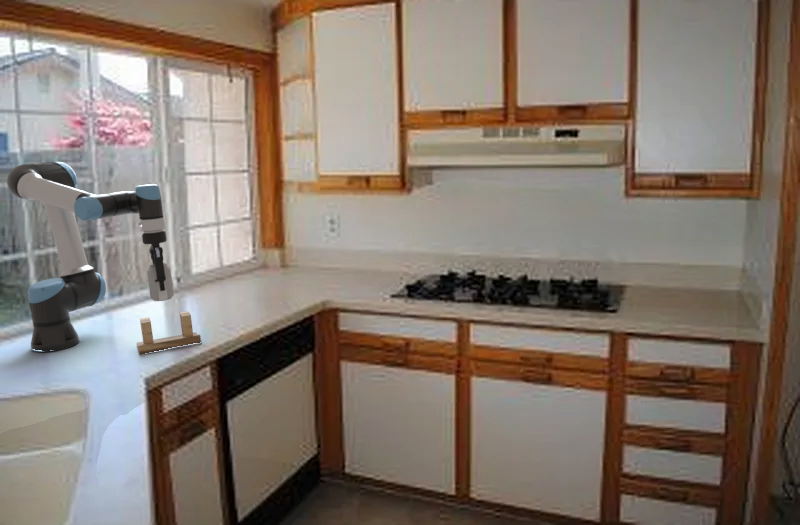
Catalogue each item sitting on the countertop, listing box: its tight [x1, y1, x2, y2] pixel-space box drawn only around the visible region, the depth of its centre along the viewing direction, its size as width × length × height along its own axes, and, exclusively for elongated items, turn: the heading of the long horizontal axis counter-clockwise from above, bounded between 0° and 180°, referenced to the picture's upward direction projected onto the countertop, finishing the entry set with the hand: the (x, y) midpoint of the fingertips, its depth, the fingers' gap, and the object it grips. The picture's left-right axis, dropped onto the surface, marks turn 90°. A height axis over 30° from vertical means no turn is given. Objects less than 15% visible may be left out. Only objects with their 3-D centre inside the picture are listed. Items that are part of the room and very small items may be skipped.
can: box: [146, 262, 175, 302], centre depth 219 cm, size 8×8×12 cm
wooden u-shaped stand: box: [136, 310, 202, 356], centre depth 222 cm, size 12×20×10 cm, turn 115°
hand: (162, 297), depth 220 cm, fingers closed on can, 7 cm apart
